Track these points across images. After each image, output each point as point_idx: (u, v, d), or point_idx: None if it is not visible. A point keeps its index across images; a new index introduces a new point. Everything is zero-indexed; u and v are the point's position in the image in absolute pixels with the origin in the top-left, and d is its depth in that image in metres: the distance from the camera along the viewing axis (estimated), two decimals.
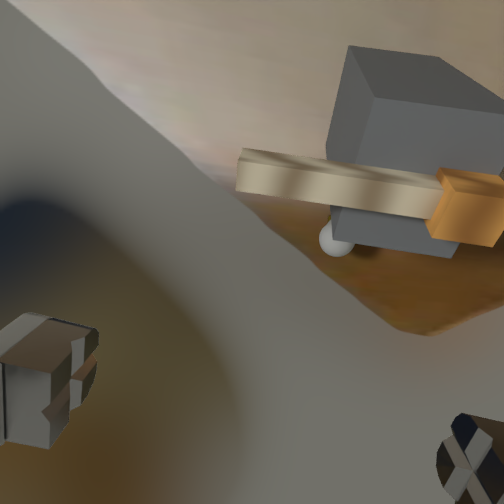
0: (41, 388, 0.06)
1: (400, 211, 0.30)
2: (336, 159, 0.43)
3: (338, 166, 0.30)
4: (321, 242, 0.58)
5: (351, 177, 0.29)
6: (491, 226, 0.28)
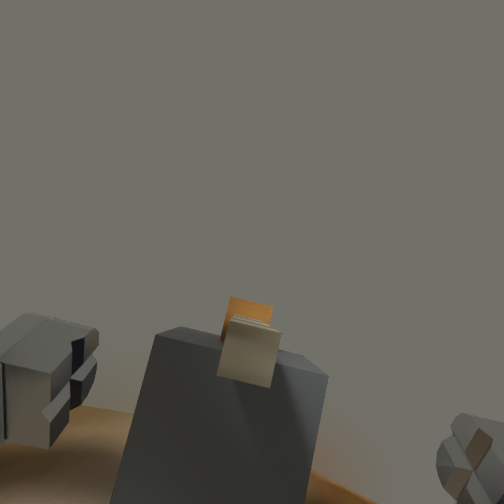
0: (41, 388, 0.06)
1: (259, 320, 0.33)
2: None
3: None
4: None
5: (233, 316, 0.28)
6: None
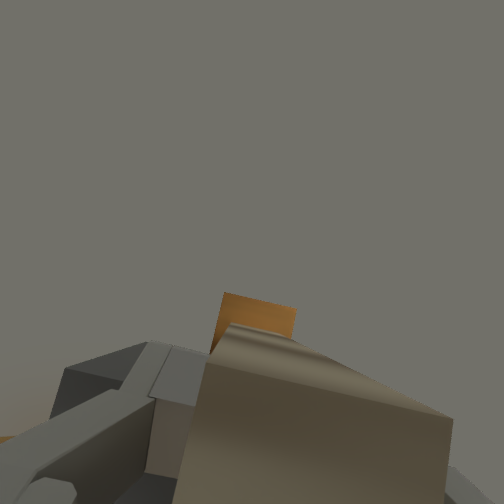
0: (190, 422, 0.06)
1: (277, 334, 0.18)
2: None
3: None
4: None
5: (228, 327, 0.13)
6: None
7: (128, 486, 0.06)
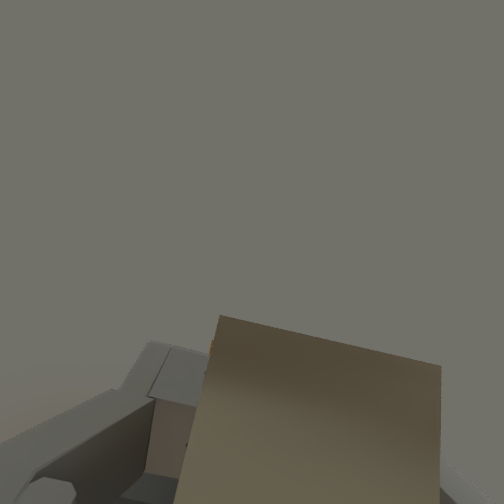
0: (190, 422, 0.06)
1: None
2: None
3: None
4: None
5: None
6: None
7: (128, 486, 0.06)
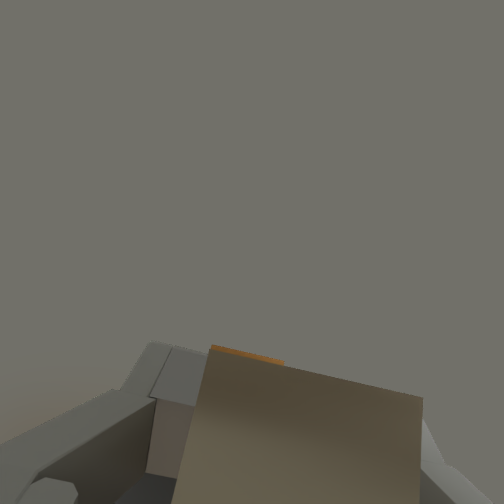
0: None
1: None
2: None
3: None
4: None
5: None
6: None
7: (129, 486, 0.06)
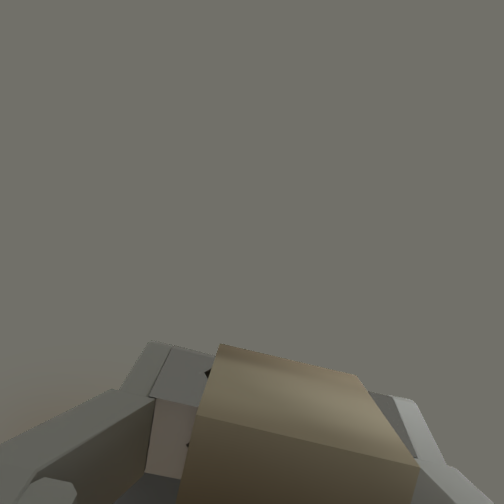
0: (190, 422, 0.06)
1: None
2: None
3: None
4: None
5: None
6: None
7: (128, 486, 0.06)
